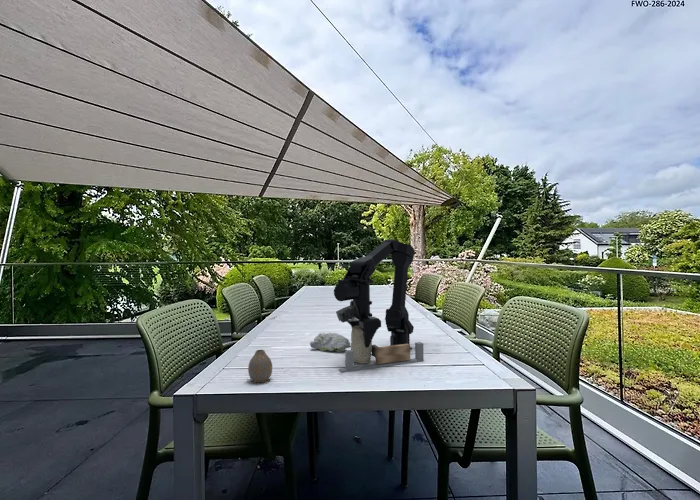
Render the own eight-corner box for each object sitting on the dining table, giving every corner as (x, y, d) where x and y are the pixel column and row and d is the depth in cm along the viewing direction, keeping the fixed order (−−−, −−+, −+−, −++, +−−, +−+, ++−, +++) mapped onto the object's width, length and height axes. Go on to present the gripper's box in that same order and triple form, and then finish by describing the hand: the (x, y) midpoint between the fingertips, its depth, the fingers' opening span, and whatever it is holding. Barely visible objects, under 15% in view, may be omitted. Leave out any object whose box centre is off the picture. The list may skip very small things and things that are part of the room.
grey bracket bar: (420, 359, 128) (419, 341, 128) (423, 361, 125) (423, 343, 125) (338, 370, 117) (338, 351, 117) (341, 372, 115) (341, 353, 115)
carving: (376, 362, 125) (375, 326, 125) (358, 366, 120) (357, 329, 120) (365, 357, 130) (364, 323, 130) (347, 362, 126) (346, 326, 126)
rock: (355, 349, 141) (355, 332, 141) (348, 355, 134) (347, 336, 134) (319, 346, 147) (319, 329, 147) (310, 350, 140) (310, 333, 140)
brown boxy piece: (400, 354, 130) (400, 340, 130) (410, 359, 124) (410, 344, 124) (369, 358, 126) (369, 343, 126) (377, 364, 120) (377, 348, 120)
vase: (250, 376, 113) (250, 347, 112) (273, 375, 113) (273, 347, 113) (246, 385, 106) (245, 354, 106) (270, 384, 106) (270, 353, 106)
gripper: (329, 296, 131) (330, 340, 131) (348, 303, 113) (349, 354, 114) (359, 294, 135) (359, 337, 135) (381, 301, 117) (382, 350, 118)
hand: (361, 344), depth 125 cm, fingers open, 8 cm apart
